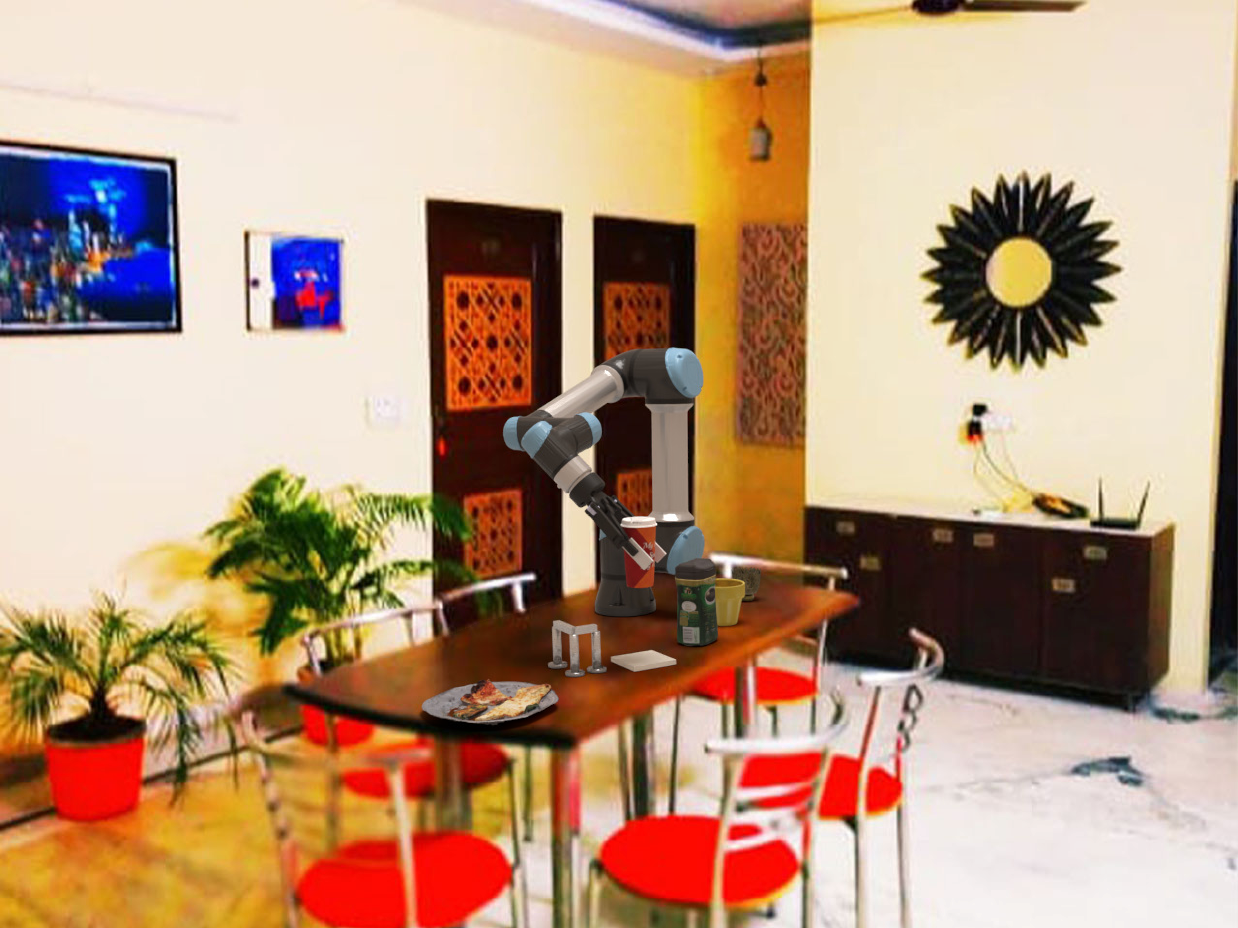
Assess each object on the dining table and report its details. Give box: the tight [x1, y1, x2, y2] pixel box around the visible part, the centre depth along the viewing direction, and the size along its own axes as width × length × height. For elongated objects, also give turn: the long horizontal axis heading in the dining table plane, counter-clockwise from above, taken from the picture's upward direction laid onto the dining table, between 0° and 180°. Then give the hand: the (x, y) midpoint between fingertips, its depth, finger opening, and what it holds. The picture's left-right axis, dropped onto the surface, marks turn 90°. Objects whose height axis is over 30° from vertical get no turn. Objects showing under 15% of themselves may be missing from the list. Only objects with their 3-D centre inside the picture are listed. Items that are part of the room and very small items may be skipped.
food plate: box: [421, 678, 560, 726], centre depth 241 cm, size 25×23×4 cm
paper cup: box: [621, 516, 657, 588], centre depth 269 cm, size 8×8×14 cm
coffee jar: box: [674, 558, 719, 647], centre depth 288 cm, size 10×8×19 cm
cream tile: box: [610, 649, 677, 672], centre depth 272 cm, size 10×10×1 cm
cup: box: [731, 566, 762, 602], centre depth 331 cm, size 8×7×8 cm
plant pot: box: [715, 578, 745, 627], centre depth 306 cm, size 10×10×10 cm
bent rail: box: [547, 619, 607, 678], centre depth 268 cm, size 12×9×10 cm
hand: (655, 561), depth 268 cm, fingers closed on paper cup, 8 cm apart
